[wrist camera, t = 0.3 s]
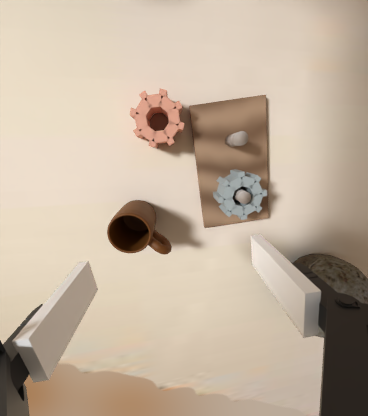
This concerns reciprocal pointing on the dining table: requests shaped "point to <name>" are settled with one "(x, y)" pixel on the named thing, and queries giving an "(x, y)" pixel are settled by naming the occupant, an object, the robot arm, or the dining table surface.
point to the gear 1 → (150, 107)
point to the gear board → (229, 152)
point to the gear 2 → (233, 183)
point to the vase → (338, 277)
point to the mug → (136, 229)
